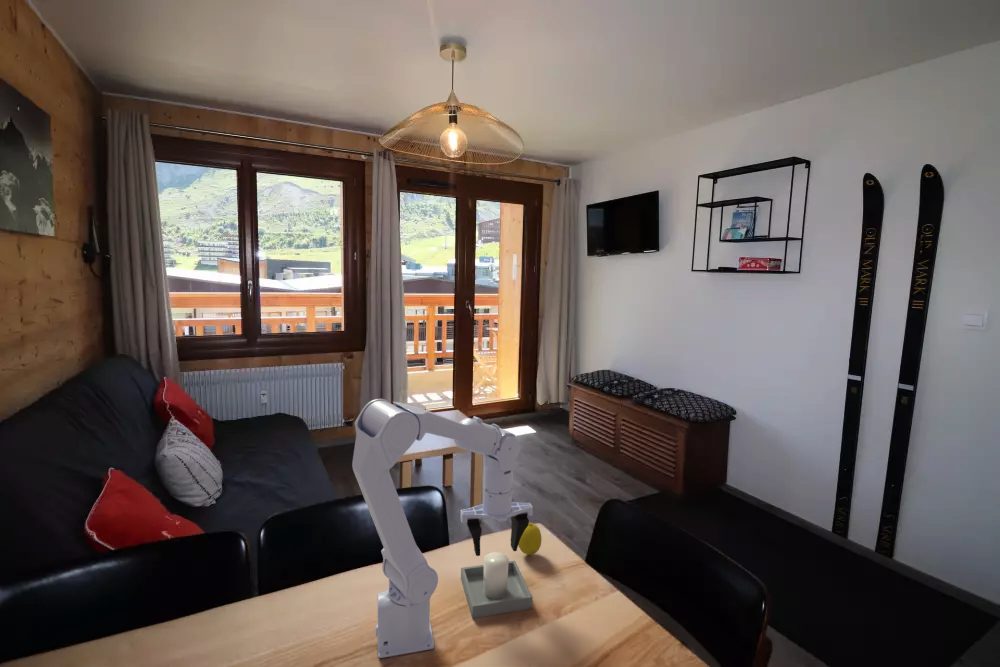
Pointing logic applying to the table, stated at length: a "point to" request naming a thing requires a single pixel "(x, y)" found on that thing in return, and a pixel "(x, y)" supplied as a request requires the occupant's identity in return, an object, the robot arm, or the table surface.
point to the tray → (485, 606)
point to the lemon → (530, 540)
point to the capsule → (495, 575)
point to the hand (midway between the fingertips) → (495, 550)
